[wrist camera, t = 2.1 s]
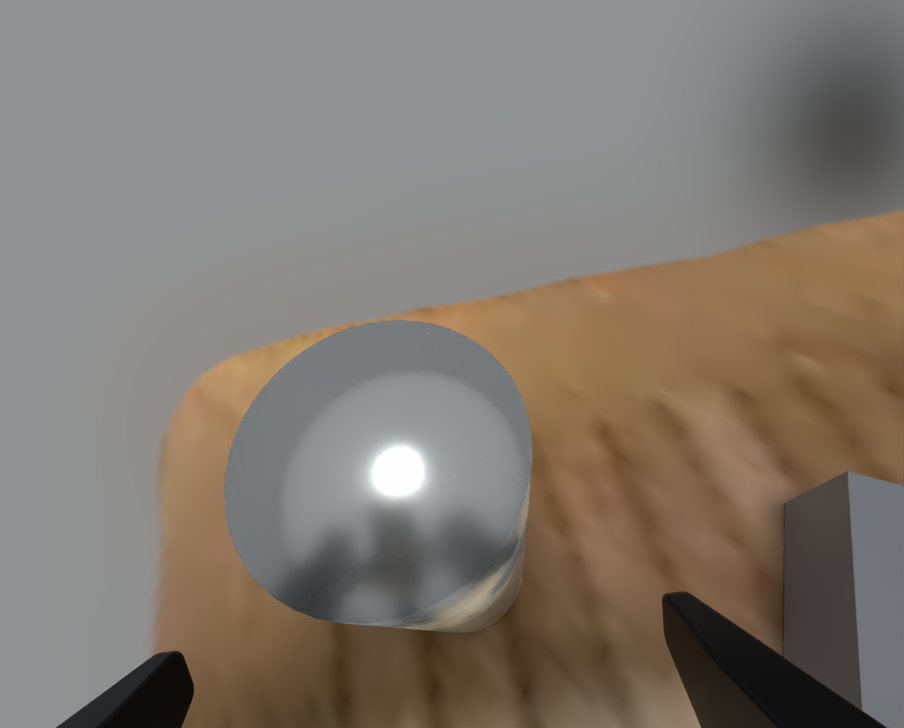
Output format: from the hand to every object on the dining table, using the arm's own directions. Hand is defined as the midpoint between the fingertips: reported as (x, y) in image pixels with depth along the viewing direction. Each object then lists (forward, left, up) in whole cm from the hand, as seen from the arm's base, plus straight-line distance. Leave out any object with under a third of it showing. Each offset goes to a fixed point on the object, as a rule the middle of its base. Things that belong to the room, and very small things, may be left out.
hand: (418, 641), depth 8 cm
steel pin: (+2, +1, -10) cm, 10 cm away
